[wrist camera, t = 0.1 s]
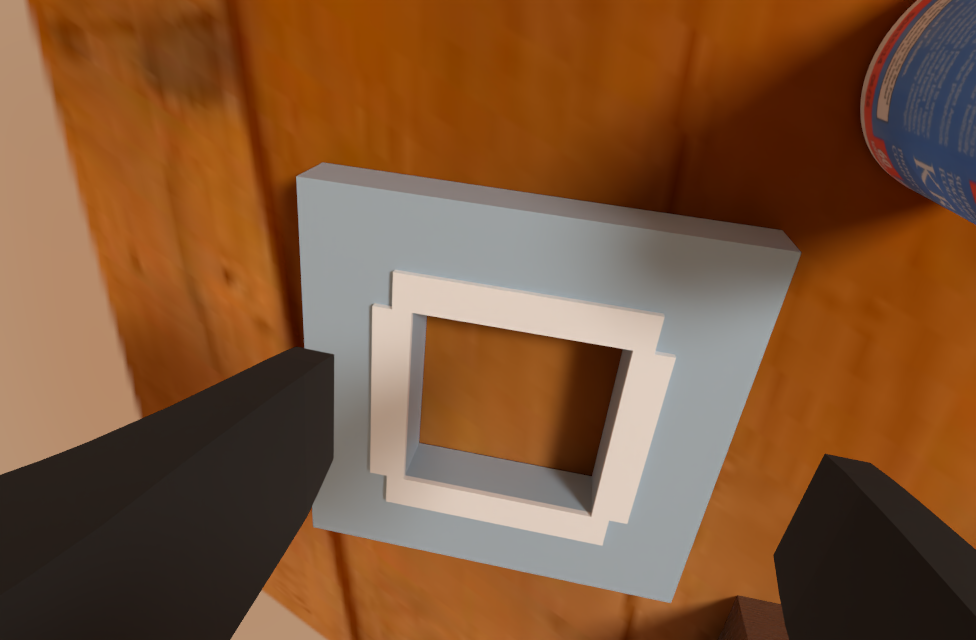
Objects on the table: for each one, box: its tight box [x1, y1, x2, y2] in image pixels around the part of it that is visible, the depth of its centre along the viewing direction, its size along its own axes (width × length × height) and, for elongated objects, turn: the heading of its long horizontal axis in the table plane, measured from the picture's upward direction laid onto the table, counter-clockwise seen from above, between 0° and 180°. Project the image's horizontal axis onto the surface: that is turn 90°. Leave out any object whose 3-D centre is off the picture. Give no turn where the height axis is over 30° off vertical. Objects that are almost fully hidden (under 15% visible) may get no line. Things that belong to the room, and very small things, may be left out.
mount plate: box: [296, 163, 801, 603], centre depth 20 cm, size 14×14×2 cm
